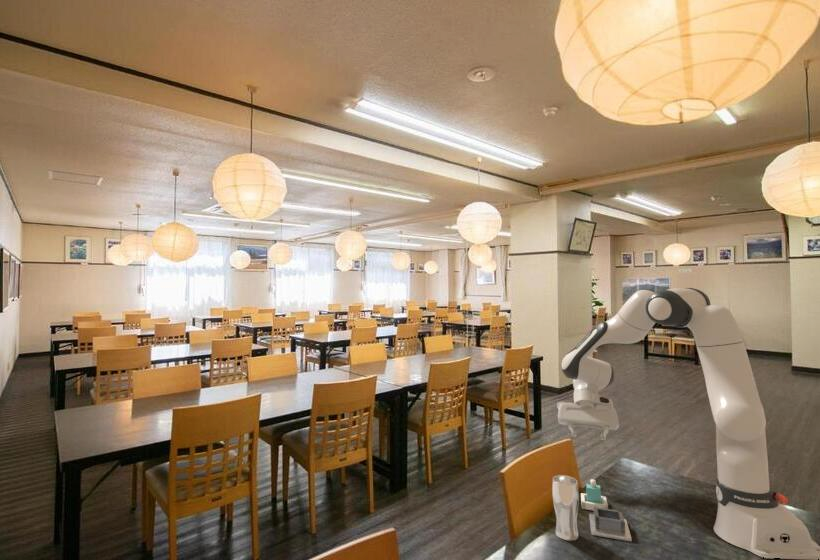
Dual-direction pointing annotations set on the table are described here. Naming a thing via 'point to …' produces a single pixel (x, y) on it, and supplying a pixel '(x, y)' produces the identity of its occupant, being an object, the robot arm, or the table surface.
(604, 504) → the white shallow rectangular tray
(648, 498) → the table surface
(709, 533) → the table surface
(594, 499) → the teal bottle
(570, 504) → the beer glass
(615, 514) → the port
